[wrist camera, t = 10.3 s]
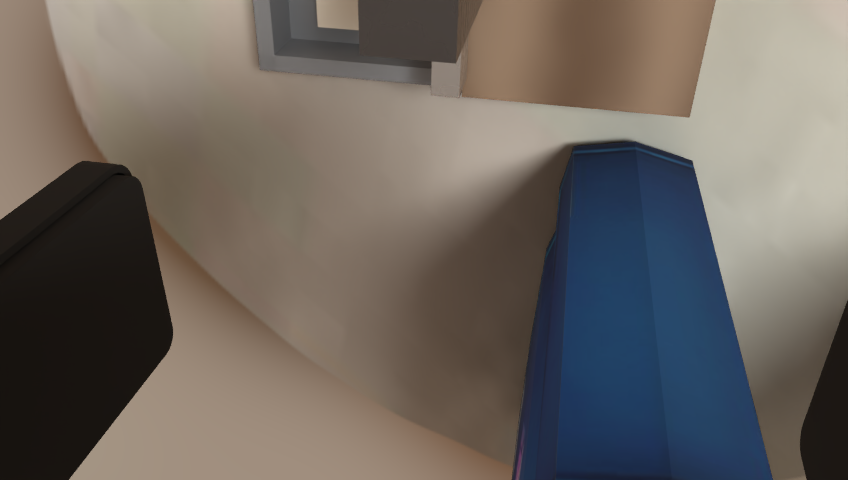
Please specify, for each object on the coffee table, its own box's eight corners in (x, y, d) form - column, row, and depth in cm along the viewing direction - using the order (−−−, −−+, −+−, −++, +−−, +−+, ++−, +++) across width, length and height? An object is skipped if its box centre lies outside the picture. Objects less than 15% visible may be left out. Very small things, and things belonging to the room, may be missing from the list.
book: (564, 113, 39) (527, 537, 18) (709, 129, 38) (840, 596, 18) (517, 417, 51) (463, 879, 30) (627, 435, 50) (647, 925, 30)
